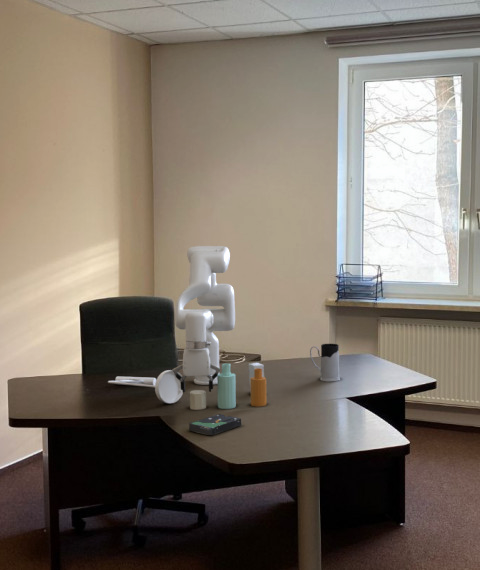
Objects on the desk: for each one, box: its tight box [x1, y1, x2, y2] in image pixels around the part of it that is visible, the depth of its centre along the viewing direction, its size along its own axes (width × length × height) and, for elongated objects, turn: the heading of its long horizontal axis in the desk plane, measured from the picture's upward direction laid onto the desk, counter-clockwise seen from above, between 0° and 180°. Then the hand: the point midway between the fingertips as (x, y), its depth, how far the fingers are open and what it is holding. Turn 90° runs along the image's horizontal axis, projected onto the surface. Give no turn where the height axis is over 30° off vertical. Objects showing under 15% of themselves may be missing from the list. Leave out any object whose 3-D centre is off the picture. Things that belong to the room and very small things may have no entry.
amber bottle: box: [249, 368, 267, 408], centre depth 276 cm, size 6×6×14 cm
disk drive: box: [188, 413, 242, 436], centre depth 245 cm, size 10×3×15 cm
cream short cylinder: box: [189, 389, 207, 411], centre depth 273 cm, size 6×6×6 cm
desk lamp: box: [107, 369, 184, 404], centre depth 298 cm, size 12×22×45 cm
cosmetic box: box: [248, 362, 265, 394], centre depth 293 cm, size 6×4×12 cm
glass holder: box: [309, 343, 341, 382], centre depth 321 cm, size 9×14×15 cm, turn 58°
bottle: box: [216, 363, 237, 410], centre depth 274 cm, size 7×7×16 cm
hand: (197, 391), depth 272 cm, fingers open, 9 cm apart
